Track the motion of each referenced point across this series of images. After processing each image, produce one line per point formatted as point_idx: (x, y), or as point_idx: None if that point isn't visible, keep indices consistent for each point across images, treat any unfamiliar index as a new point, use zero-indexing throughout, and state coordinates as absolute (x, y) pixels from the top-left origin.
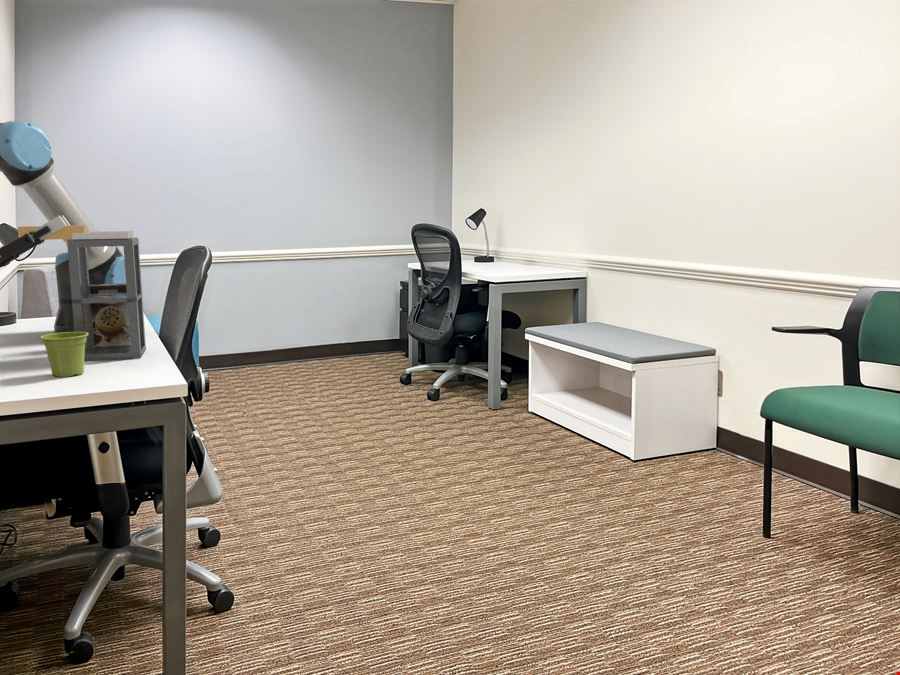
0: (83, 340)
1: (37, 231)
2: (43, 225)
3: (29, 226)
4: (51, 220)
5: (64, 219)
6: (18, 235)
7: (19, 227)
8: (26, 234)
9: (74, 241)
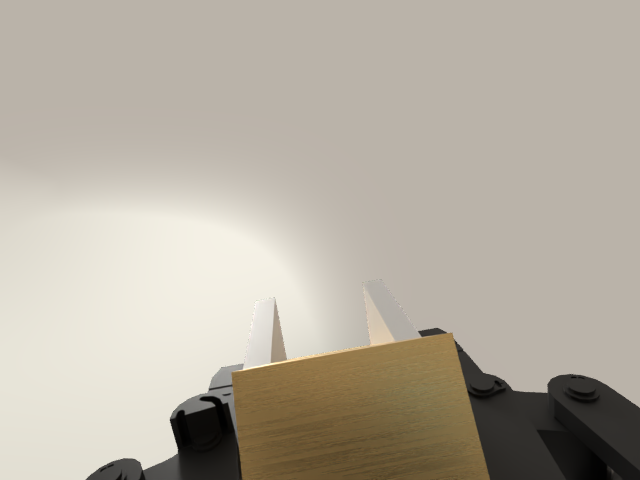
0: None
1: (477, 369)
2: (411, 329)
3: (313, 356)
4: (394, 300)
5: (279, 321)
6: (486, 470)
7: (446, 342)
8: (602, 387)
9: None
